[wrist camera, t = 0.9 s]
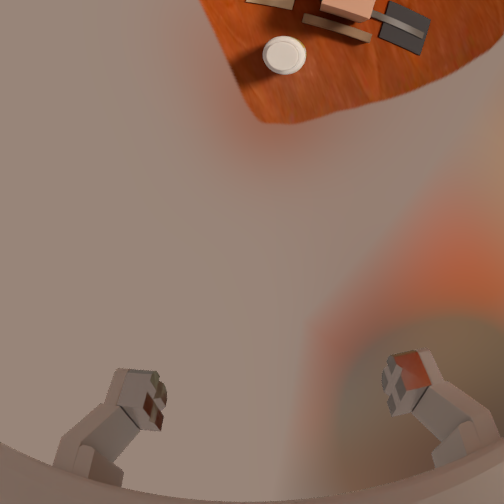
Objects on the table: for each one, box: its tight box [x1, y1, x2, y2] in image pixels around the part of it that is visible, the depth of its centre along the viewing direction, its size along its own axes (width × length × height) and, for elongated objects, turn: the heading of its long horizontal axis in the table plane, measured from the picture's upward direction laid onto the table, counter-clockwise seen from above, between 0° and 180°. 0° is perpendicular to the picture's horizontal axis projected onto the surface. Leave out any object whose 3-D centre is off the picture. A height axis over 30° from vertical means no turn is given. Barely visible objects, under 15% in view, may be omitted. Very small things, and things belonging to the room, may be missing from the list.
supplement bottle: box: [263, 36, 306, 75], centre depth 34 cm, size 6×6×10 cm
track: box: [302, 0, 424, 43], centre depth 30 cm, size 28×10×2 cm, turn 79°
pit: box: [379, 1, 431, 55], centre depth 30 cm, size 7×7×1 cm
